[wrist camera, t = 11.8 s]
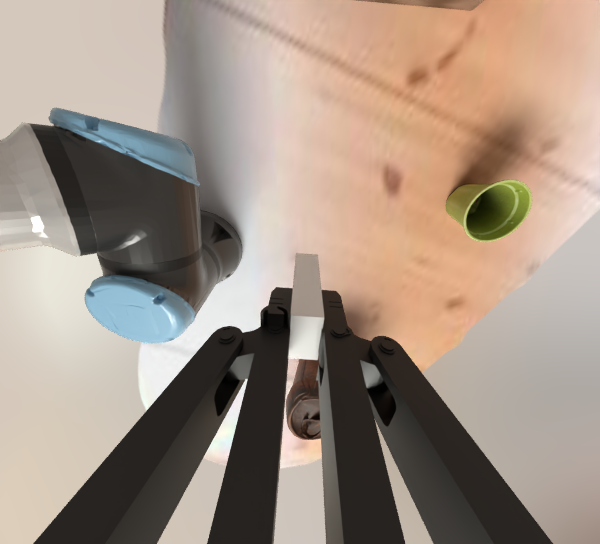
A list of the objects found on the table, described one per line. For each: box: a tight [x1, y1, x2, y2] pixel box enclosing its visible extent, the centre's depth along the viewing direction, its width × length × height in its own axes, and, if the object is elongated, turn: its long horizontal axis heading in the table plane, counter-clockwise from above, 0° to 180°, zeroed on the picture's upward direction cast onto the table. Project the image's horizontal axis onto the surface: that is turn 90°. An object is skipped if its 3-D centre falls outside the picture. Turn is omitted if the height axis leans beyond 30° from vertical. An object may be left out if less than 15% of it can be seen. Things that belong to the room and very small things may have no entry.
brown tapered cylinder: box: [286, 355, 321, 440], centre depth 56 cm, size 18×20×18 cm
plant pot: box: [446, 180, 532, 242], centre depth 38 cm, size 9×9×9 cm
